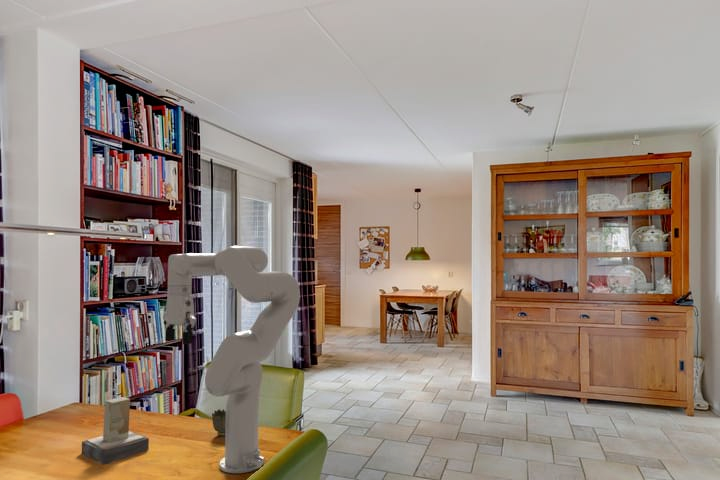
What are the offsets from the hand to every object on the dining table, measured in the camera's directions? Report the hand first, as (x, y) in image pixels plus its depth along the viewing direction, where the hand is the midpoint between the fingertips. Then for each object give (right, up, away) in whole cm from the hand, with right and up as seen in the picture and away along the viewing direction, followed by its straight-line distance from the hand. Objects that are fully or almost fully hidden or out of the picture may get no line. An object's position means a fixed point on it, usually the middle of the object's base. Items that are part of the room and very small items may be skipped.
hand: (178, 342), depth 158 cm
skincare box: (-17, -29, -8) cm, 35 cm away
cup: (+13, -34, +6) cm, 37 cm away
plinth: (-17, -33, -8) cm, 38 cm away
